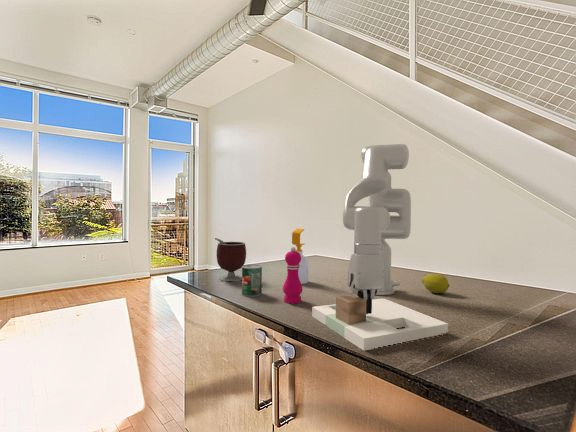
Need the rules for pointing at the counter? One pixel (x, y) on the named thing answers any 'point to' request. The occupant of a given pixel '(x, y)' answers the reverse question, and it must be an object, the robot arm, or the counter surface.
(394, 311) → the board
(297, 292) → the pepper mill
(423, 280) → the lemon
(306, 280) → the soap bottle
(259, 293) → the canned tomato
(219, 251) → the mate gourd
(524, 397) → the counter surface
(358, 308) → the walnut block
